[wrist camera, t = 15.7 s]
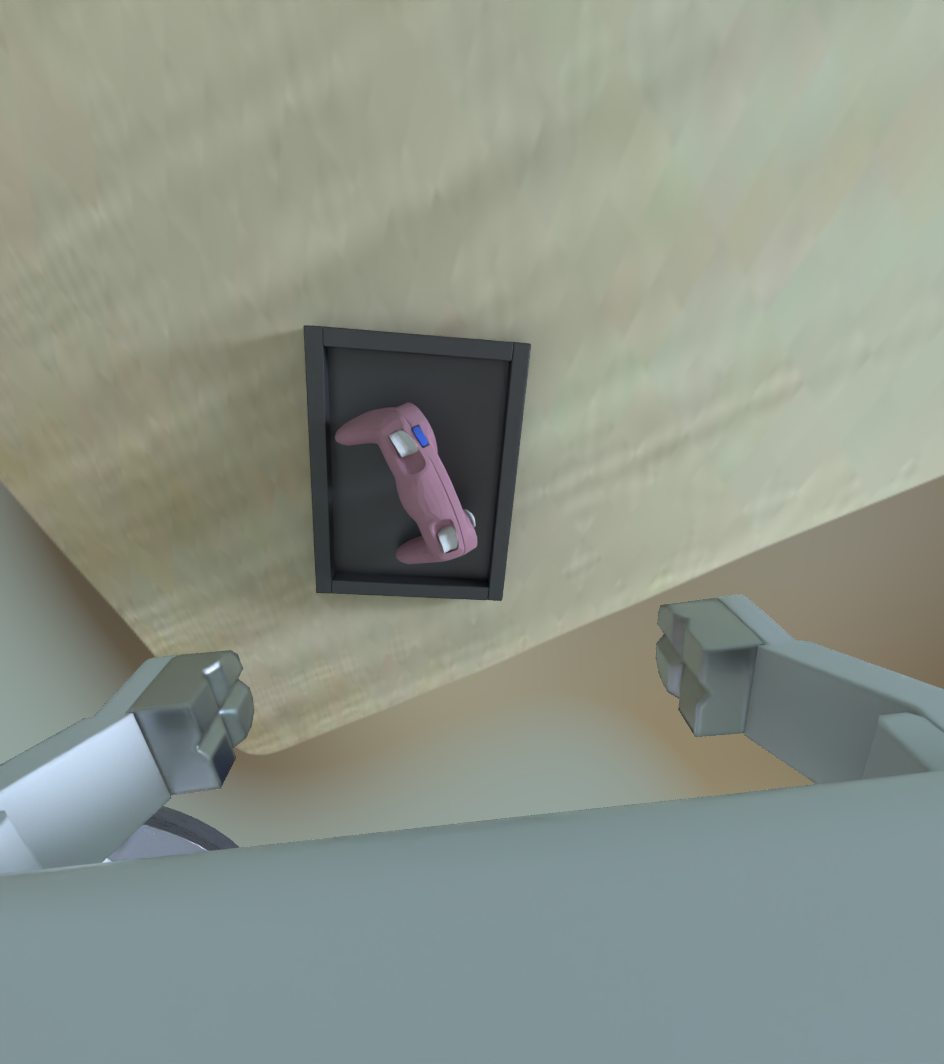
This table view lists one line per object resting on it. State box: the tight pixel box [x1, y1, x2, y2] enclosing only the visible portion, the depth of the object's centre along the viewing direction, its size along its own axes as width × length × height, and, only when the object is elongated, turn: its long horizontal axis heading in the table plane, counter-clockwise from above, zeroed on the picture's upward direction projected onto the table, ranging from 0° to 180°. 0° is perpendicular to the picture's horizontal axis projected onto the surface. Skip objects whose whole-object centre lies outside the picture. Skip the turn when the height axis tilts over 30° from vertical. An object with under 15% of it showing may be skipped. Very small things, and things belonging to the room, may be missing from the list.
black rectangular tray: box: [304, 325, 531, 601], centre depth 31 cm, size 12×16×2 cm
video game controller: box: [335, 402, 477, 564], centre depth 29 cm, size 10×5×7 cm, turn 22°
